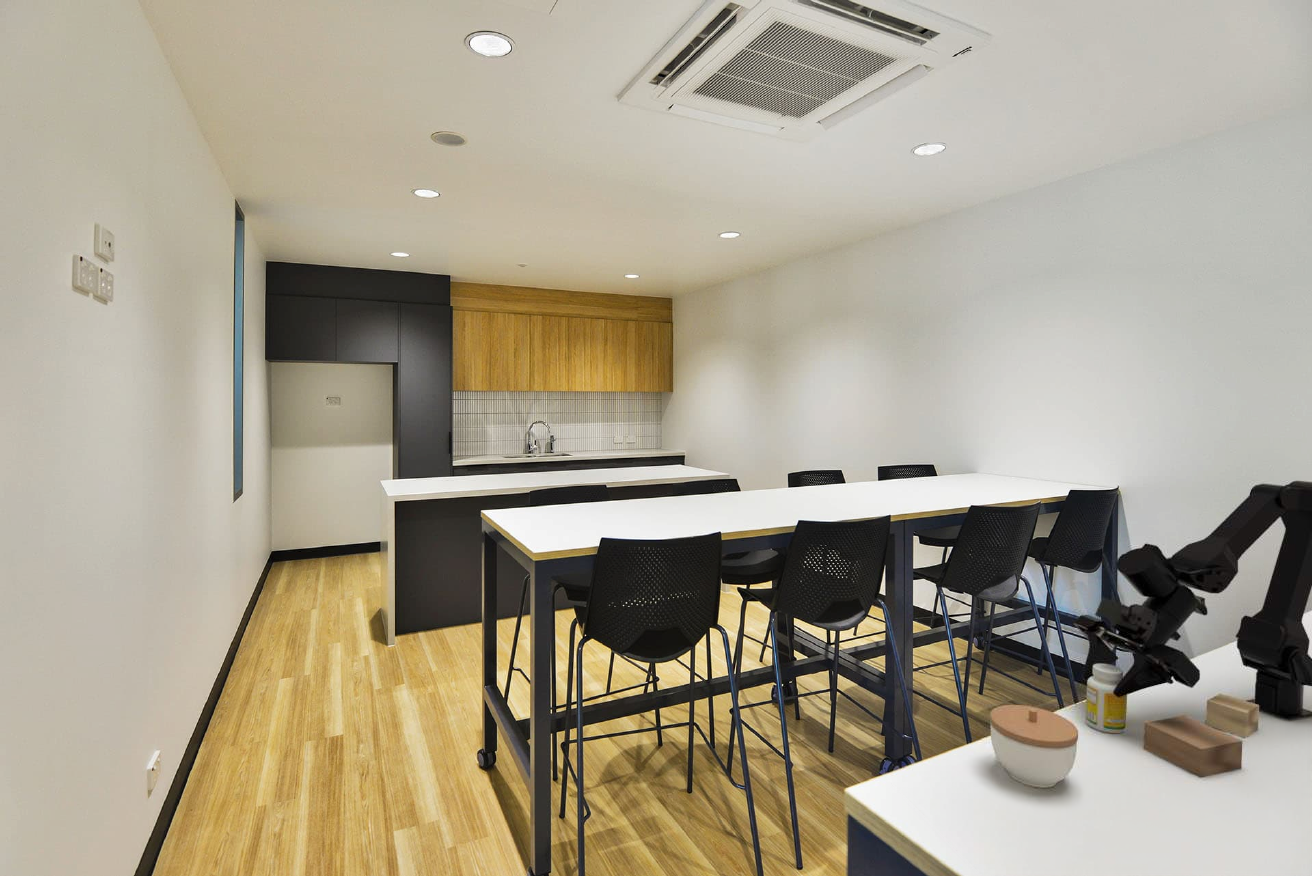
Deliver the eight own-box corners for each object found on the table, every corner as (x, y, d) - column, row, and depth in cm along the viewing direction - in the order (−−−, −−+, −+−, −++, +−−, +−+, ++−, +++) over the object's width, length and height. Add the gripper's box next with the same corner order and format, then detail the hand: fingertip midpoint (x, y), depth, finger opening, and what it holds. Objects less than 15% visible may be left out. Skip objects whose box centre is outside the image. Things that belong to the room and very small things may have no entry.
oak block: (1219, 717, 109) (1220, 693, 109) (1258, 729, 105) (1259, 705, 105) (1206, 724, 107) (1207, 700, 107) (1245, 737, 103) (1246, 712, 102)
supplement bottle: (1080, 725, 107) (1082, 667, 106) (1092, 715, 110) (1093, 658, 110) (1119, 738, 103) (1121, 677, 102) (1130, 727, 106) (1132, 668, 106)
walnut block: (1182, 740, 102) (1183, 715, 102) (1241, 768, 94) (1242, 740, 94) (1143, 748, 100) (1144, 722, 99) (1200, 777, 92) (1201, 749, 92)
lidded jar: (1026, 802, 86) (1028, 732, 86) (972, 759, 97) (973, 697, 96) (1096, 792, 88) (1098, 724, 88) (1035, 751, 99) (1037, 690, 98)
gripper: (1084, 568, 115) (1026, 634, 114) (1186, 599, 97) (1118, 678, 96) (1123, 610, 117) (1066, 675, 116) (1230, 648, 98) (1163, 726, 97)
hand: (1099, 686), depth 106 cm, fingers open, 6 cm apart
